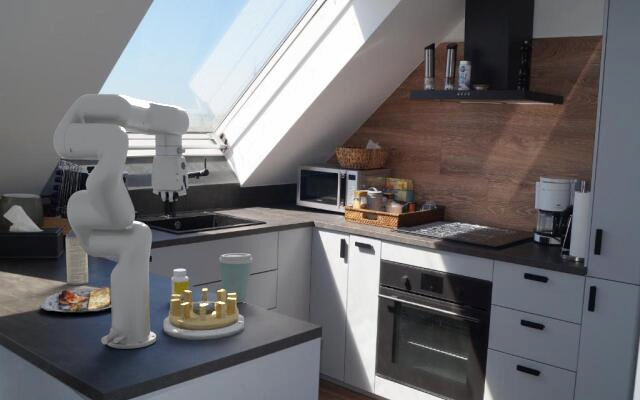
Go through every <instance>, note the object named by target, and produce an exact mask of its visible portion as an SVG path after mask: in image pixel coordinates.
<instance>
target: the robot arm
mask: <svg viewBox="0 0 640 400" xmlns="http://www.w3.org/2000/svg"><path fill="white" fill-rule="evenodd" d="M189 127H190V119H189V115H188V113H187V111H185V109H184V108H182V107H180V106H176V105H170V104H163V103H157V102H152V101H148V100H147V101H146V100H141V99H136V98H133V97H130V96H126V95H123V94H118V93H117V94H116V93H110V94H109V93H86V94H83V95H81V96H79V98H77V99H76V100H75V101H74V102H73V103H72V105H71V106H70V107H69V109H68V110H67V112H65V114H64V116H63V117H62V119H61V120H60V121H59V123H58V125H57V127H56V128H55V131H54V134H53V140H52V141H53V148H54V151H55V152H56V154H57V155H58V156H59V157H60V158H63V159H65V160H81V161H82V160H85V161H86V160H89V161H98V162H97V164H96V165H95V167H94V168H93V169H92V170H91V172H90V173H89V174H88V176H87V178H86V181H85V187H86V188H85V189H82V190H78V191H76V192H74V193H72V194H71V196H70V197H69V198H68V202H67V205H66V207H67V208H66V215H67V220H68V222H69V225H70V227H71V230H72V229H73V231H74V233H75V235H76V237H77V239H78V241H79V242H80V244H81V246H82V248H83V250H84V251H85V252H86V253H87V255H88V256H91V257H101V258H114V259H119V261H118V262H117V264H116V265H115V266H114V268H113V269H112V271H111V273H110V290H111V307H110V309H111V327H110V328H109V329H110V330H109V333H108V334H107V335H105V336H103V337H101V340H100V341H101V343H102V344H103V345H107V346H109V347H111V348H114V349H122V350H125V349H126V350H129V349H130V350H131V349H138V348H144V347H148V346H151V345H152V344H154V343H155V342H156V341H157V334H156V333H155V332H153V331H152V330H151V315H150V313H151V311H150V310H151V309H150V308H151V307H150V305H151V304H150V273H149V272H150V255H151V249H152V242H153V232H152V230H151V229H150V228H151V227H150V226H148V224H145V223H144V222H142V221H137V220H135V218H136V211H135V207H134V204H133V201H132V198H131V197H130V194H129V191H128V190H127V187H126V184H125V182H124V179H123V178H124V177H123V175H124V169H125V166H126V160H127V156H128V151H129V144H130V143H129V140H130V139H129V135H128V132H129V133H134V134H143V135H145V136H154V137H155V138H154V139H155V145H154V149H155V156H153V160H152V165H151V187H152V193H153V194H155V195H157V196H159V197H160V198H161V200H162V201H163V211H164V215H165V216H173V215H175V214H176V212H177V211H176V210H177V209H176V207H177V203H176V201H178V199H179V198H180V197H181V196H184V195H185V196H186V195H187V189H189V171H188V167H187V165H188V164H187V160H186V157H185V156H183V154H184V153H186V148H185V147H184V148H183V135H185V134H186V132H187V131H188V129H189Z"/></svg>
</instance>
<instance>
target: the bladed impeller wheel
mask: <svg viewBox="0 0 640 400" xmlns="http://www.w3.org/2000/svg"><path fill="white" fill-rule="evenodd" d="M201 291H202V292H201V293H202V294H201V295H202V296H201V297H202V299H201V300H199V301H195V302H193V291H191V290H185V291H184V302H182V295H178V294H173V295H170V296H171V297H170V299H169V304H170V305H169V311H168V316H169V323H170V324H171V325H173V326H175V327H178V328H182V329H189V330H211V329H218V328H223V327H227V326H230V325H233V324H234V323H236V322H237V321H238V320H239V314H240V311H239V307H238V306H237V305H238V304H237V294H236V293H229V294H227V302H226V290H224V289H223V288H221V289H220V290H217V291H216V301H210V300H209V299H208V297H209V296H208V287H207V288H206V287H205V288H204V287H203V288H202V290H201Z"/></svg>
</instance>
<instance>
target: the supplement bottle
mask: <svg viewBox="0 0 640 400" xmlns="http://www.w3.org/2000/svg"><path fill="white" fill-rule="evenodd" d="M172 272H173V276H172V277H171V279H170V281H171V282H170V284H171V287H170V288H171V293H170V294H171V295H173V294H178V295H182V303H184V291H185V290H189V289H190V288H189V287H190V284H189V282H190V281H189V279H190V278H189V277H188V276H187V269H185V268H176V269H173V271H172ZM189 291H190V290H189ZM171 295H170V296H171Z"/></svg>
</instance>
